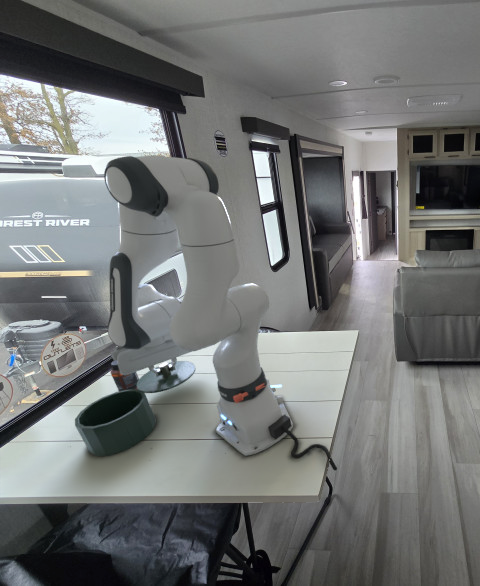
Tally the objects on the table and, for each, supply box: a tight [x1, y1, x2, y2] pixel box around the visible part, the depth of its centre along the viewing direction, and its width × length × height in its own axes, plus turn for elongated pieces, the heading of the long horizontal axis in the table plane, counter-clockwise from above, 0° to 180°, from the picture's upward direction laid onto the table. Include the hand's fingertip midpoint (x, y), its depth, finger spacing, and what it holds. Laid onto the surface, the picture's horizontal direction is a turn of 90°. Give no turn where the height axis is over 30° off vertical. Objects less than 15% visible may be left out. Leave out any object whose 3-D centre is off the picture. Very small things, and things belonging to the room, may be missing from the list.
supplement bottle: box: [110, 360, 140, 392], centre depth 103 cm, size 6×6×11 cm
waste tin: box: [74, 389, 157, 457], centre depth 85 cm, size 15×15×10 cm
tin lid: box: [137, 360, 197, 394], centre depth 99 cm, size 16×16×5 cm
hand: (166, 372), depth 99 cm, fingers closed on tin lid, 2 cm apart
